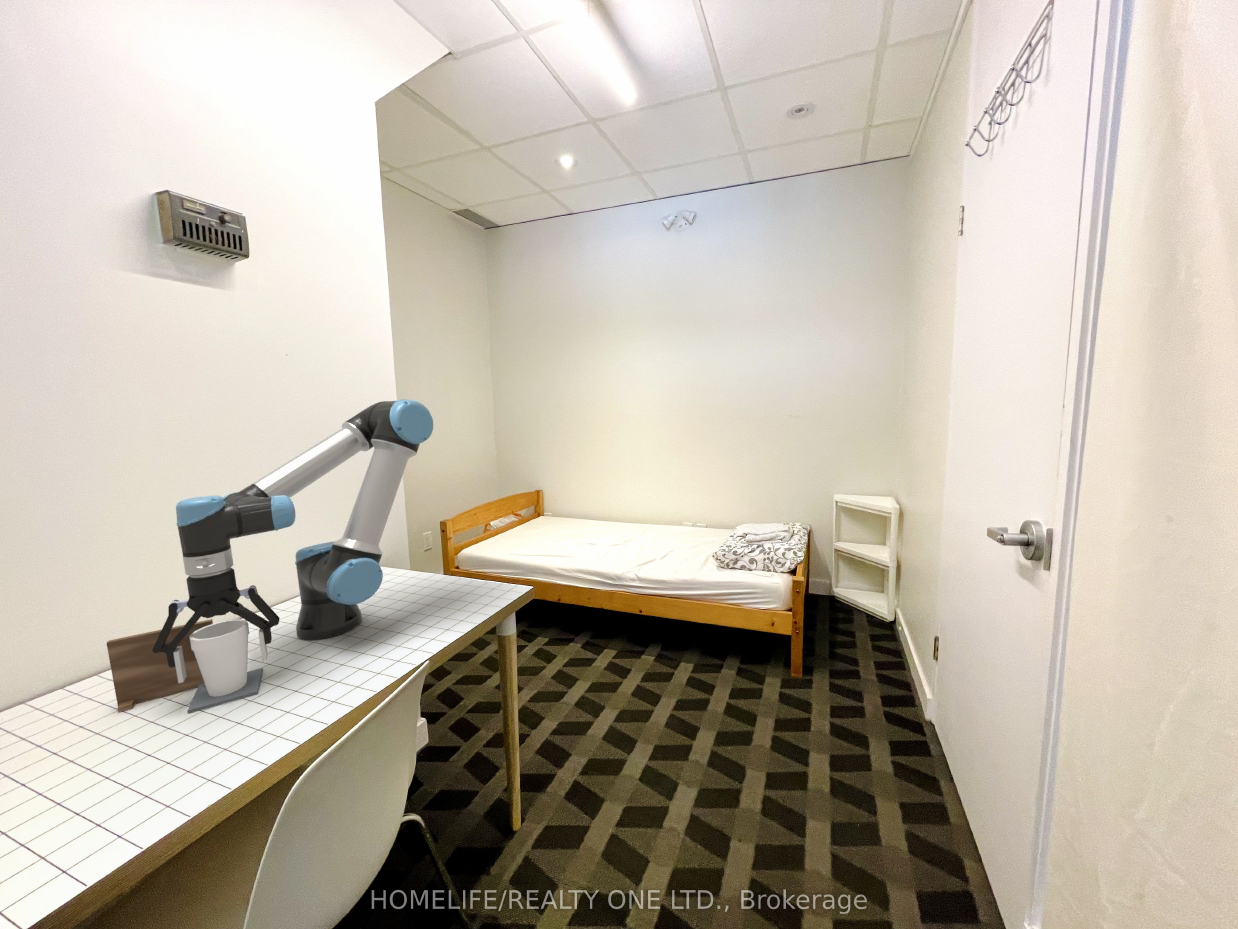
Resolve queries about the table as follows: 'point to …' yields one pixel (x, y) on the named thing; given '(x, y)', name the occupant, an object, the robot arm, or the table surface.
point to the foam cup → (222, 655)
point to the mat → (206, 701)
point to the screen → (150, 667)
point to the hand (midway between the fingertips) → (225, 668)
